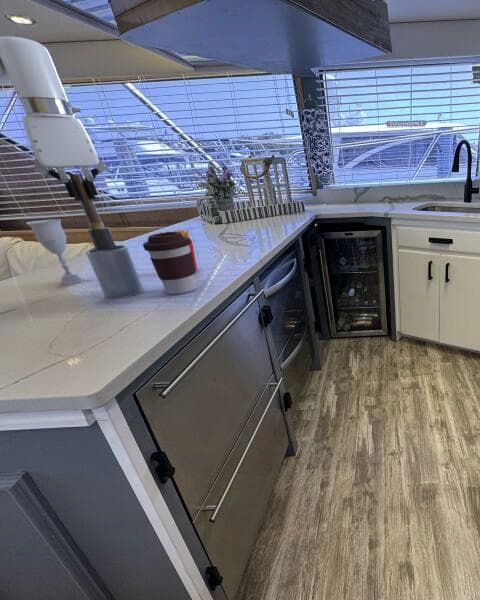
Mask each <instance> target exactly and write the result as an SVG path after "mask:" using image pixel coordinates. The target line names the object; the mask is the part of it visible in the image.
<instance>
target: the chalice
mask: <svg viewBox="0 0 480 600" xmlns="http://www.w3.org/2000/svg"><path fill="white" fill-rule="evenodd" d="M61 221H62V220H61V219H59V218H53V219H43V220H42V219H41V220H34V221H28V222H26V224H27V226H29V227H30V228H31V230H32V232H33V234H34V237H35V238H36V240H37V242H38V243H39V244H40V245H41V246H42V247H43V248H45V249H46V250H47V251H48V252H50V254H53V255H57V257H58V262H60V263H61V269H63V270H64V274H63V275H62V276H61V280H60V281H61V282H60V285H63V286H65V285H73V284H78V283H80V282H83V281H84V280H85V279H84V278H82V276H80V275H79V274H78V273H76V272H72V271H71V270H70V268H69V267H70V265H69V264H67V262H66V261H67V259H66V258H65V257H64V256H63V253H65V252H66V248H67V235H66V233H65V231H64V228H63V227H62V222H61Z"/></svg>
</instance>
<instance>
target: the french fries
mask: <svg viewBox="0 0 480 600" xmlns="http://www.w3.org/2000/svg"><path fill="white" fill-rule="evenodd" d="M166 232H180V233H181V234H182V235H183V236H184V237H189V238H190V233H189V232H190V231H189V229H186V230H184V229H176V230H173V231H172V230H170V231H169V230H168V231H166ZM159 233H163V232H162V231H161V232H159ZM190 241H191V244H190V245H189V247H190V251H191V252H192V256H193V261H194V265H195V270H196V271H197V270H198V267H197V261H196V255H195V250H194V244H193V239H191V238H190Z"/></svg>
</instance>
